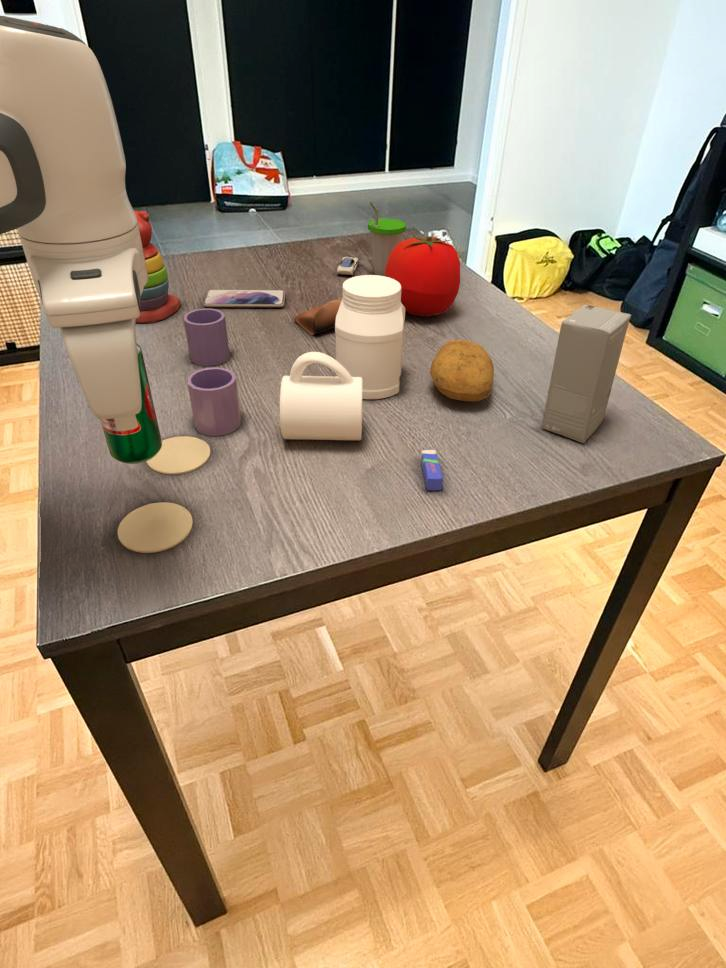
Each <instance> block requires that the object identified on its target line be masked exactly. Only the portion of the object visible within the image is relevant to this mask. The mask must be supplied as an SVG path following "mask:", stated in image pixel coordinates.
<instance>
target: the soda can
mask: <svg viewBox="0 0 726 968" xmlns="http://www.w3.org/2000/svg"><path fill="white" fill-rule="evenodd" d="M136 345H137V355H138V365H139V375H140V385H141V398H142V407H141V411H140V412H139V413H138V414H136V419H137V427H136V428H135V429H131V430H125V431H120V430H118V429H117V427H116V423H115V420H114V418H111V419H99V420H100V424H101V428H102V431H103V434H104V437H105V438H104V439H105V441H106V445H107V448H108V451H109V454H110V456H111V457H112V458H113V459H115V460H116V461H118V462H120V463H122V464H128V465H136V464H141V463H145V462H146V461H148V460H150V459H152V458H153V457H154V456H155V455H156V454H157V453H158V452H159V451H160V449H161V447H162V441H163V440H162V435H161V433H160V432H161V431H160V425H159V422H158V418H157V413H156V407H155V404H154V399H153V394H152V390H151V385H150V381H149V377H148V372H147V369H146V364H145V363H146V362H145V359H144V354H143V350H142V347H141V345H139V344H138V343H137V342H136Z"/></svg>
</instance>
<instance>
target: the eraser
mask: <svg viewBox="0 0 726 968" xmlns="http://www.w3.org/2000/svg"><path fill="white" fill-rule="evenodd" d="M420 464H421V469H422V470H421V471H422V474H423V479H424V482H425V489H426V490H427V491H441V490H442V487H443V481H444V478H443V473H442V469H441V466H440V462H439V458H438V453H437V451H436V450H435V449H422V450H421V452H420Z"/></svg>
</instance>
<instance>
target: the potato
mask: <svg viewBox="0 0 726 968" xmlns="http://www.w3.org/2000/svg"><path fill="white" fill-rule="evenodd" d="M494 367H495V366H494V363H493V360H492V357H490V355H489V354H488V352H487V350H485V348H484V346H482V345H480V344H479V343H476V342H474V341H471V340H467V339H454V340H453V339H452V340H450V341H448V342H446V343H443V344H442V345H441V346H440V348H439V350H438V351H437V353H436V355H435V357H434V358H433V360H432V362H431V364H430V370H429V375H430V377H431V379H432V381H433V384H434V385H435V387H436V388H437V390H438V391H439V393H441V394H442V395H444V396H445V397H447V398H449V399H450V400H457V401H461V402H479V401H482V400H483V399H485V398H489V396H490V394H491V392H492V388H493V384H494V375H495V374H494V373H495V368H494Z"/></svg>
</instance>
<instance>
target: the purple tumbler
mask: <svg viewBox="0 0 726 968" xmlns="http://www.w3.org/2000/svg"><path fill="white" fill-rule="evenodd" d="M186 383H187V389H188V394H189V395H188V396H189V400H190V406H191V411H192V418H193V422H194V429H196V431H197V432H198V433H200V434H201V435H206V436H209V437H219V436H225V435H229V434H232V433H233V432H235V431H236V430H238V429H239V428H240V426H241V424H242V416H241V408H240V400H239V392H238V390H239V389H238V383H237V376H236V374H235V372H234V371H232V370H230V369H229V368H226V367H225V368H224V367H217V366H209V367H203V368H200V369H198V370H195V371H193V372H192V373H190V374H189V375H188V377H187V378H186Z"/></svg>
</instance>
